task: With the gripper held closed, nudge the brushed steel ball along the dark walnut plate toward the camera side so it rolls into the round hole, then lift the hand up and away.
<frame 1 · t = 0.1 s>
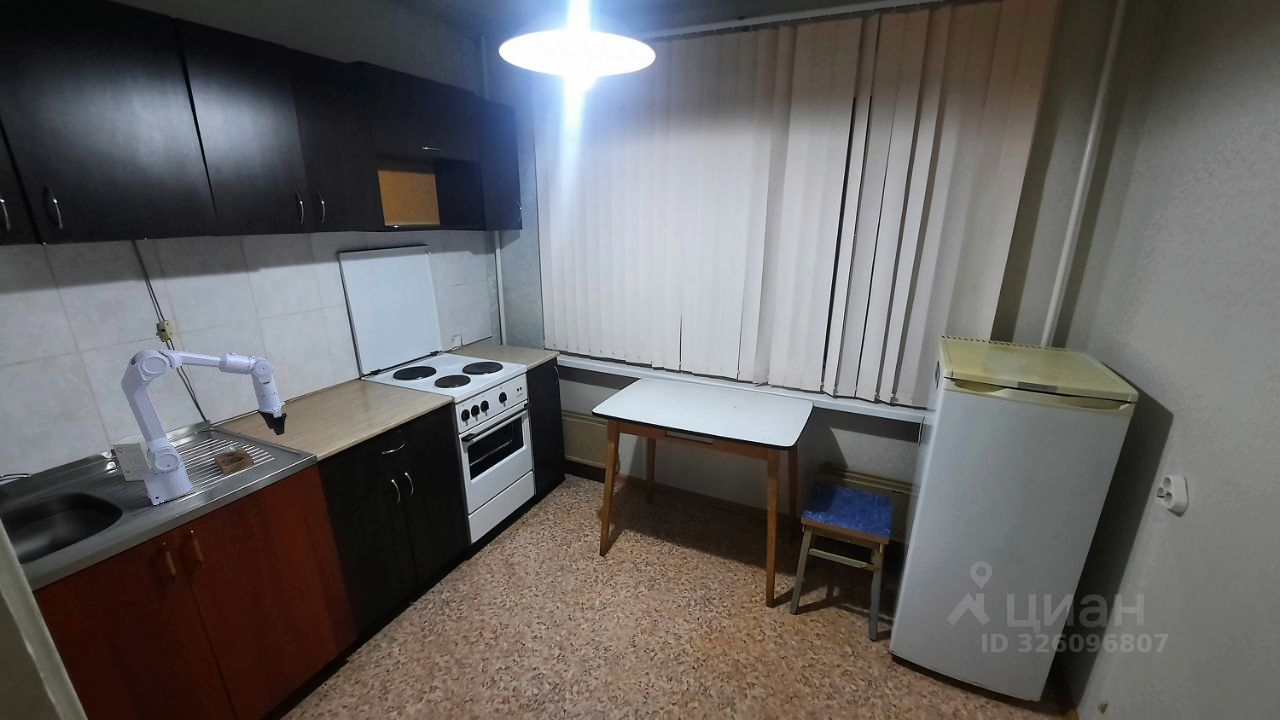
hand: (276, 431, 167), 10 cm above the counter, tool pointing down, fingers open, 7 cm apart
small box: (147, 476, 161), on the counter
hole plate: (235, 464, 167), on the counter
steel ball: (229, 450, 167), point 4 cm above the counter, touching hole plate
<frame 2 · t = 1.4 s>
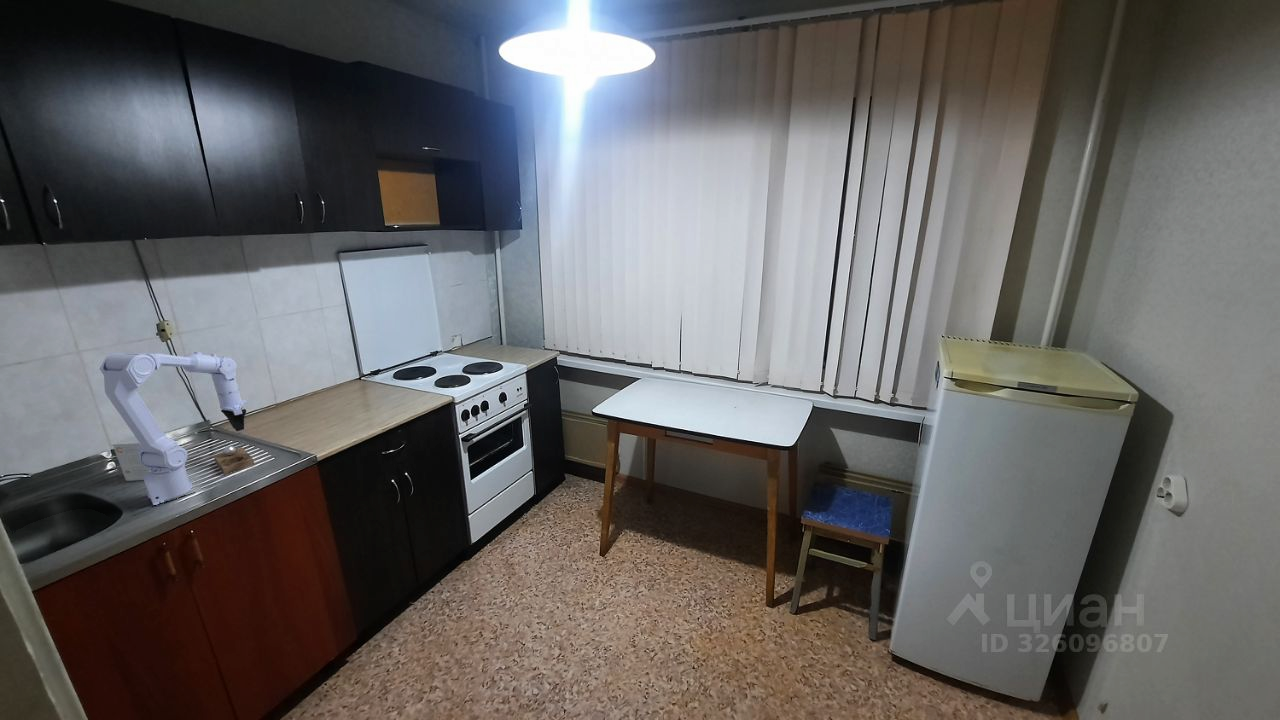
hand: (238, 428, 168), 10 cm above the counter, tool pointing down, fingers open, 3 cm apart
nothing on the counter moved.
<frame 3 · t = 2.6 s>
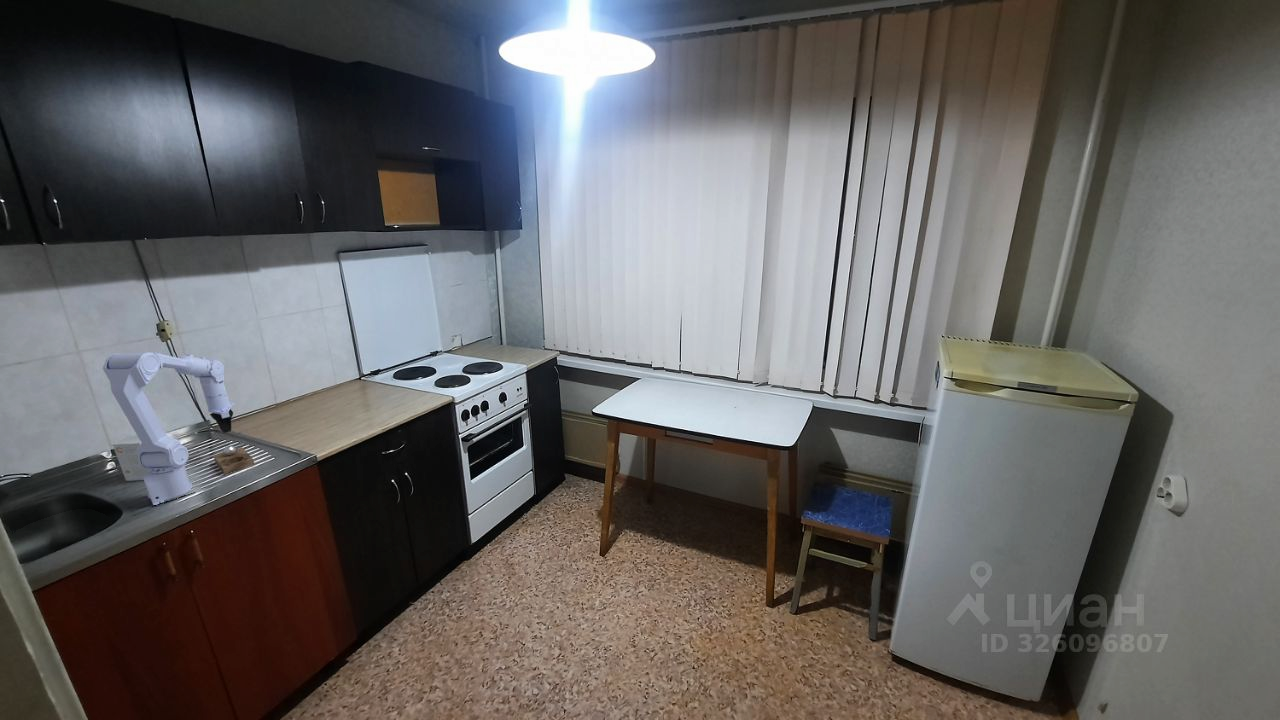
hand: (227, 431, 170), 9 cm above the counter, tool pointing down, fingers closed
nothing on the counter moved.
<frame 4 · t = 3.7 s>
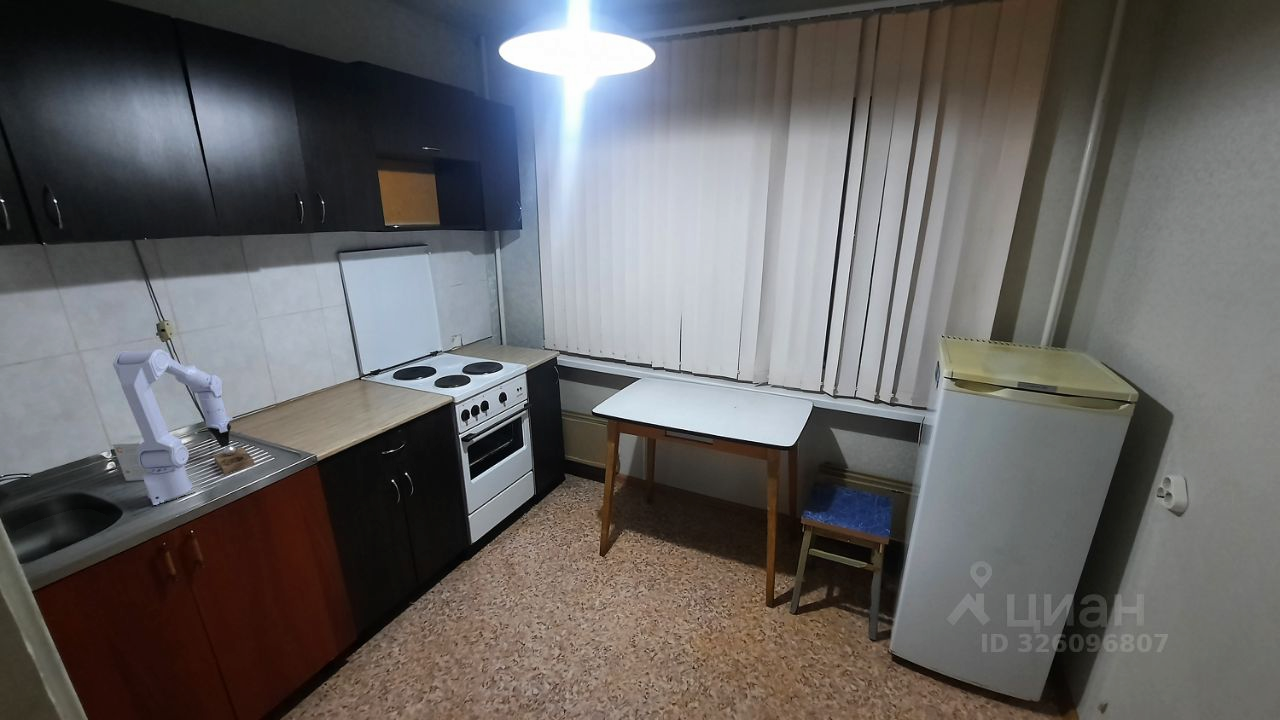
hand: (224, 445, 172), 4 cm above the counter, tool pointing down, fingers closed
nothing on the counter moved.
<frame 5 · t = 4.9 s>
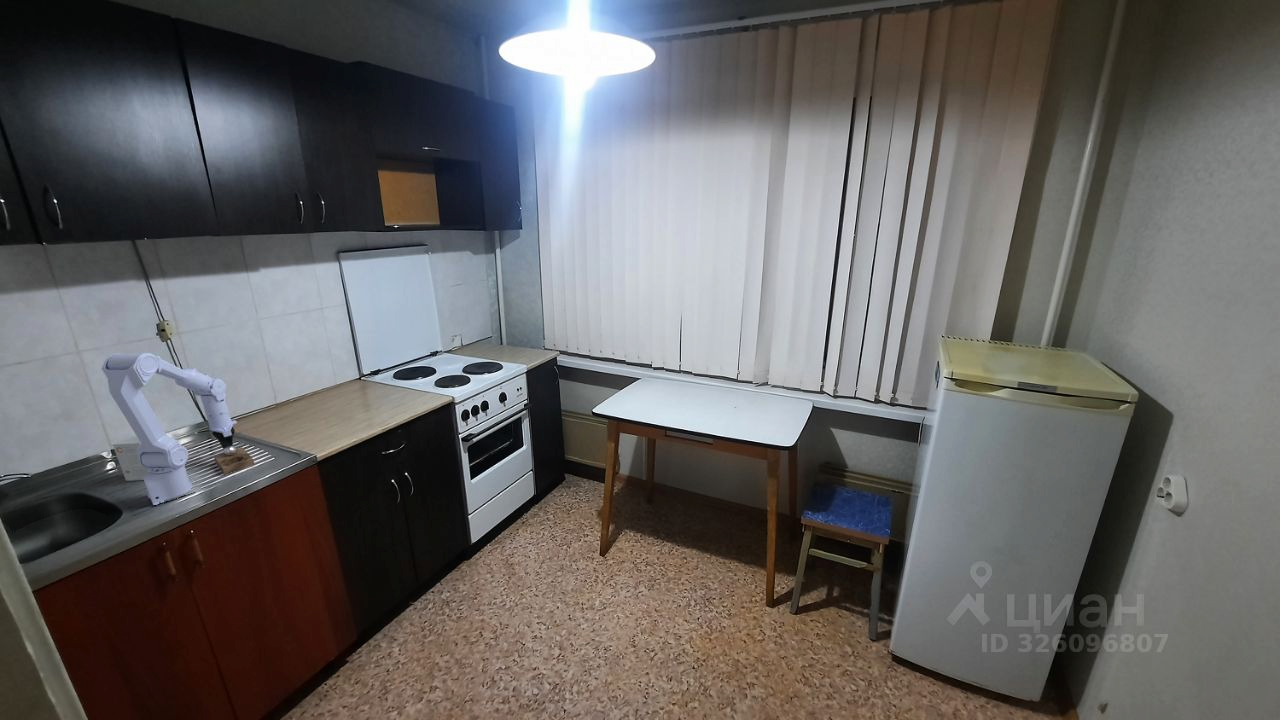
hand: (228, 449, 168), 4 cm above the counter, tool pointing down, fingers closed, pressing on steel ball
steel ball: (229, 450, 167), point 4 cm above the counter, tilted 8°, touching gripper, hole plate
everything else where it was.
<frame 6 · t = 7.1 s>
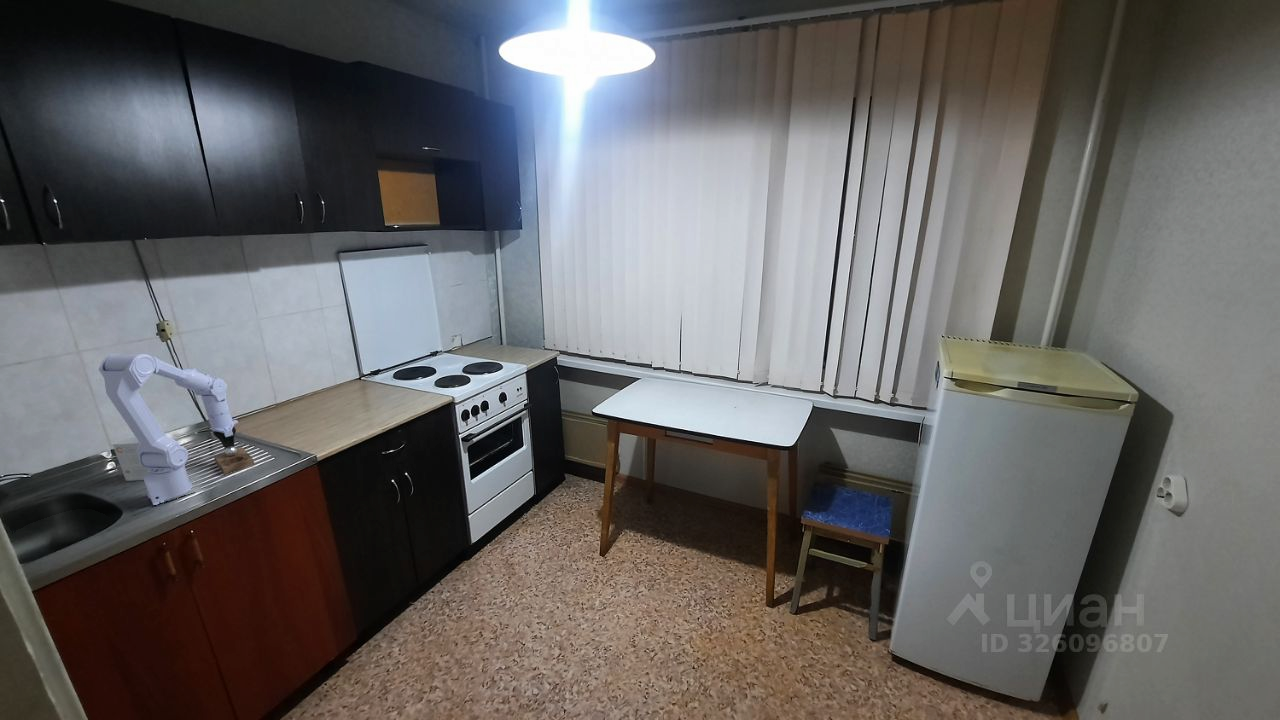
hand: (230, 449, 168), 4 cm above the counter, tool pointing down, fingers closed, pressing on steel ball
steel ball: (230, 451, 167), point 4 cm above the counter, tilted 34°, touching gripper, hole plate
everything else where it was.
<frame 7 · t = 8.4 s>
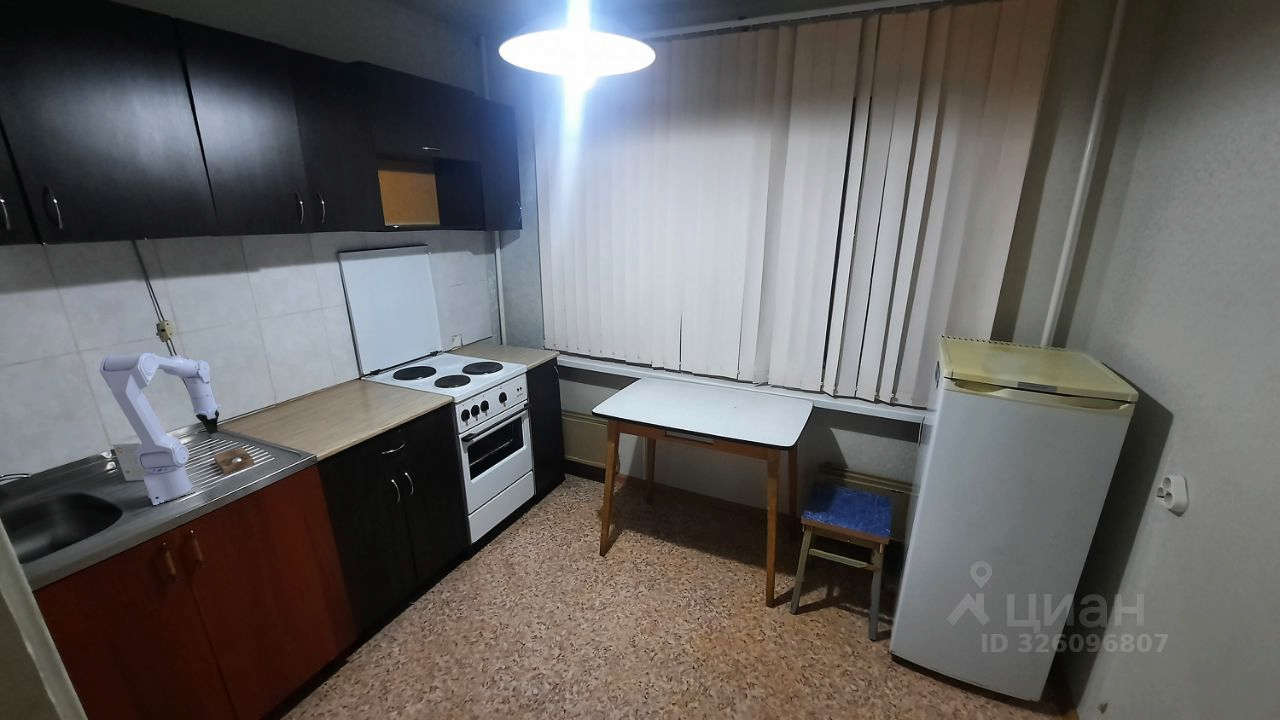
hand: (213, 432, 168), 9 cm above the counter, tool pointing down, fingers closed
steel ball: (237, 462, 164), point 2 cm above the counter, tilted 138°
everything else where it was.
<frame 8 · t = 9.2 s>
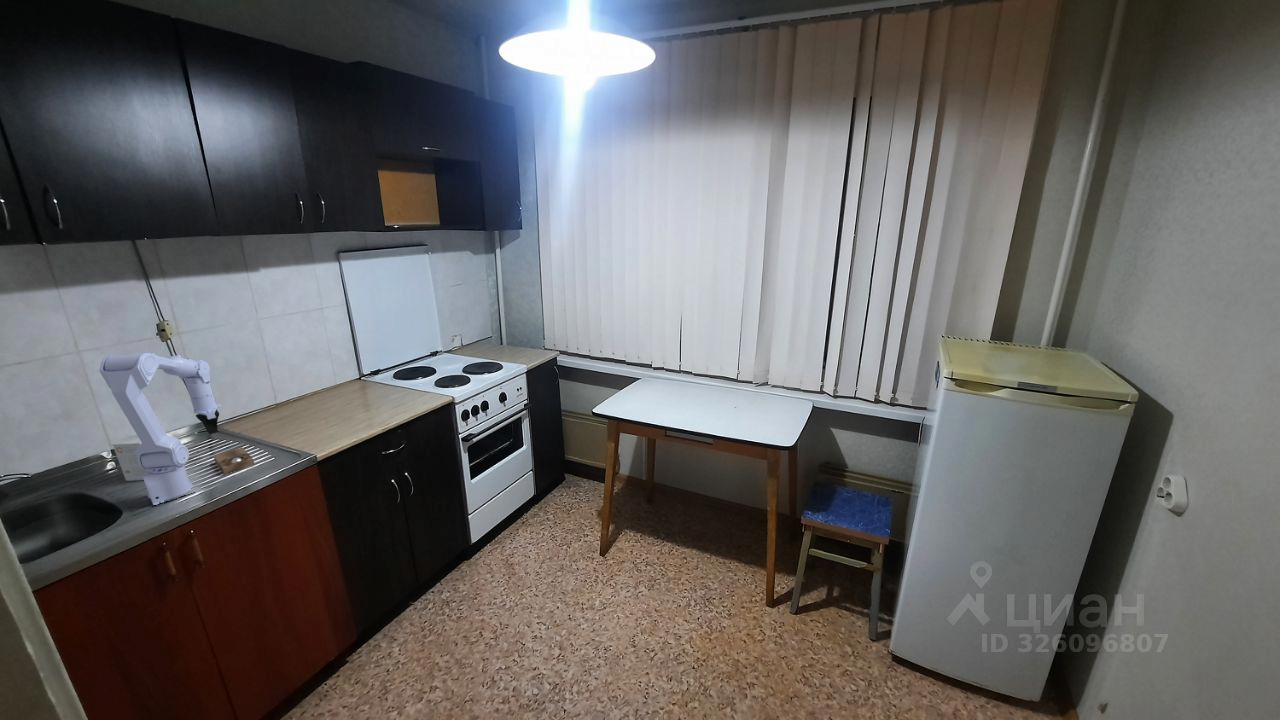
hand: (213, 432, 168), 9 cm above the counter, tool pointing down, fingers closed
nothing on the counter moved.
at the end: steel ball 0.5 cm from the target spot on the hole plate, point 1.6 cm above the hole plate's base; steel ball touching counter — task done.
